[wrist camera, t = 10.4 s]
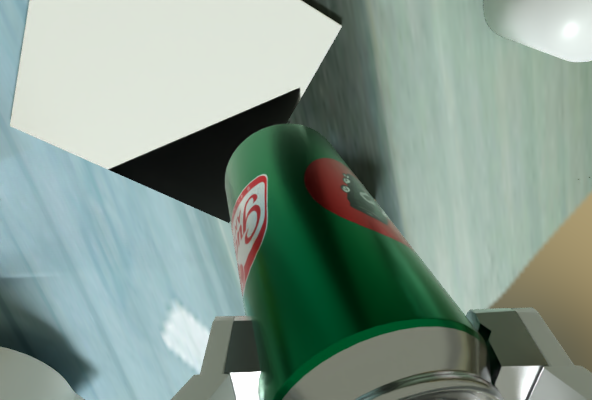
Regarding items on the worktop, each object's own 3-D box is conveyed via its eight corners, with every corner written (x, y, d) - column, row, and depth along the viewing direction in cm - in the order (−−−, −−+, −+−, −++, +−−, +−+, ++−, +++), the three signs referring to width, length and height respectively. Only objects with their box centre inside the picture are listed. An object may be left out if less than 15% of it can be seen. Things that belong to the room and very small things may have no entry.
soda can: (217, 123, 15) (267, 413, 5) (337, 114, 16) (565, 344, 6) (229, 226, 18) (277, 547, 8) (332, 212, 19) (487, 484, 9)
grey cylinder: (519, 54, 26) (585, 81, 20) (466, 8, 24) (520, 23, 18) (585, -18, 23) (682, -12, 18) (530, -73, 22) (616, -86, 16)
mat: (229, 220, 34) (229, 222, 33) (13, 123, 29) (9, 125, 29) (341, 25, 25) (341, 26, 25) (58, -153, 21) (54, -155, 20)
